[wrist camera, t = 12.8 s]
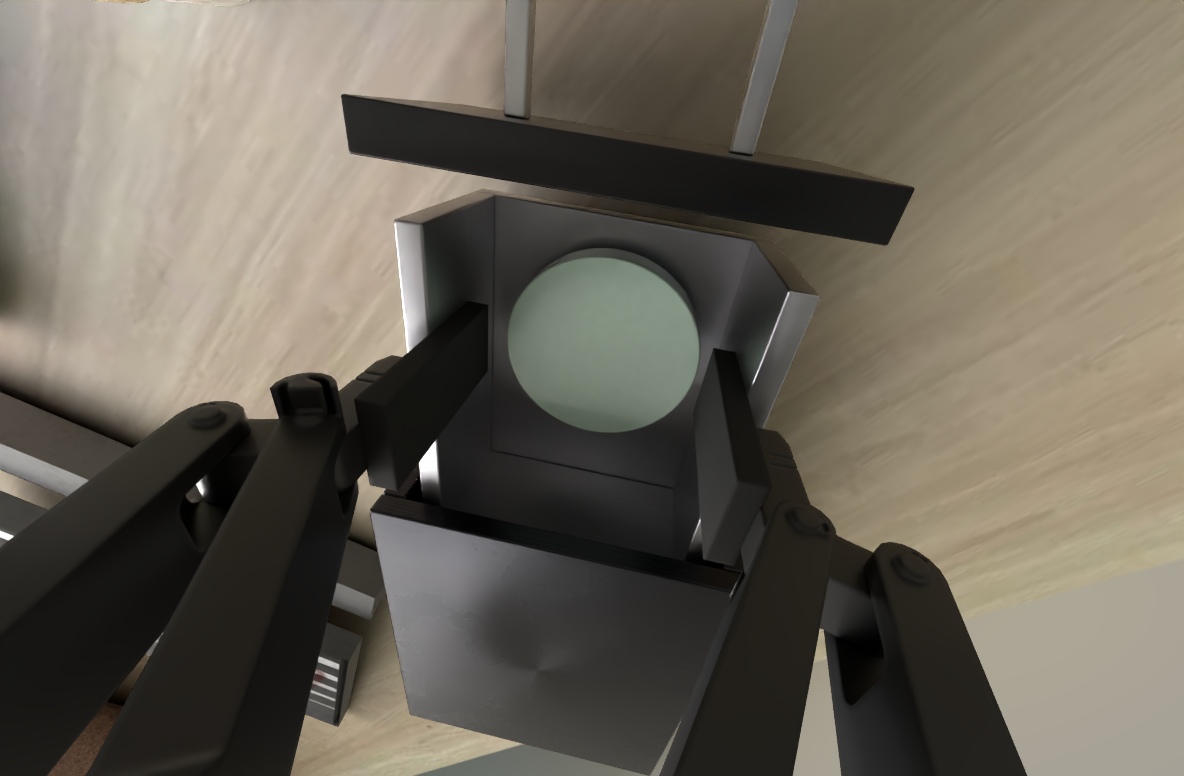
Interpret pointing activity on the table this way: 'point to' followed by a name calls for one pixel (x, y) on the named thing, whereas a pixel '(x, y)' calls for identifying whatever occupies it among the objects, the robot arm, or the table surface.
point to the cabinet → (544, 630)
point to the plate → (604, 340)
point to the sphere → (87, 743)
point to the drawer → (554, 229)
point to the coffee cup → (204, 0)
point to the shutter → (75, 455)
